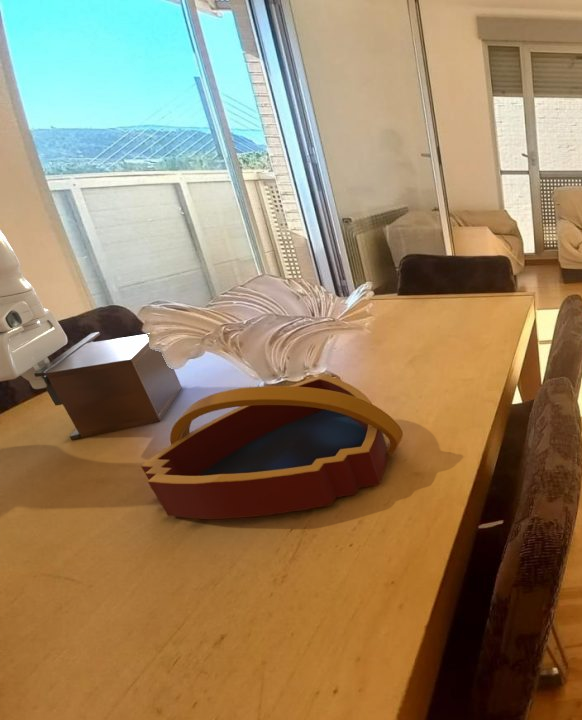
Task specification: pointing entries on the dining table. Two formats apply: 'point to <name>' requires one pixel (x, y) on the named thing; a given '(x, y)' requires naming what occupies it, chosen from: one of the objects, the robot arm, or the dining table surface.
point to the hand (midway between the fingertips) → (44, 385)
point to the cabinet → (112, 384)
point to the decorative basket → (273, 451)
